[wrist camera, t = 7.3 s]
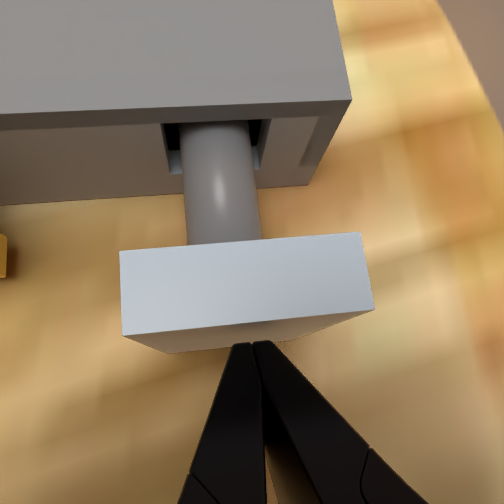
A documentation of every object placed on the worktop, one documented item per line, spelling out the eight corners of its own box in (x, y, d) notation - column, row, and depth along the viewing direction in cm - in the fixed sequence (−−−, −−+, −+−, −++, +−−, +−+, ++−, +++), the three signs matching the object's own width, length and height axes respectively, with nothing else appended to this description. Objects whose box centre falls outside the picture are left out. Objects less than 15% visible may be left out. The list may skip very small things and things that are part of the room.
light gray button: (292, 339, 15) (375, 309, 8) (167, 354, 15) (121, 336, 7) (261, 112, 18) (300, -83, 10) (153, 117, 17) (108, -85, 10)
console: (307, 184, 18) (352, 99, 12) (-153, 215, 16) (-356, 128, 10) (280, 15, 21) (307, -123, 15) (-125, 21, 18) (-278, -137, 13)
